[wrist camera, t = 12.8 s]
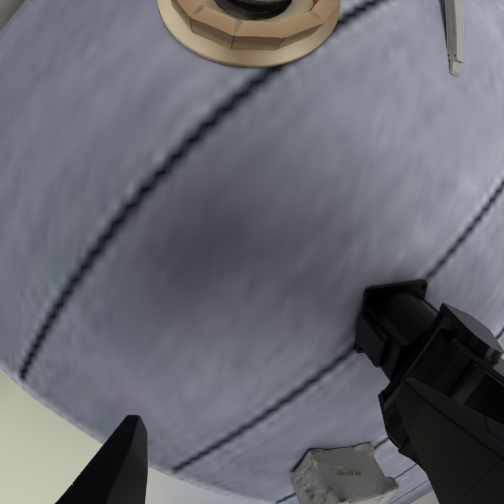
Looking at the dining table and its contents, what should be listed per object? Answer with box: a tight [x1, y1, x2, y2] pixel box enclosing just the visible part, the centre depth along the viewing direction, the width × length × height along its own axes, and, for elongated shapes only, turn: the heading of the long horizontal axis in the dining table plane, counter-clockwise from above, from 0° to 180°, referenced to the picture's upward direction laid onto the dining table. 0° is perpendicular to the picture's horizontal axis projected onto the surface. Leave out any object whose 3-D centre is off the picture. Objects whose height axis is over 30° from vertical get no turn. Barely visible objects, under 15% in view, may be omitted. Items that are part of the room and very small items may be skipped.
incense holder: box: [290, 443, 399, 504], centre depth 27 cm, size 10×8×10 cm
